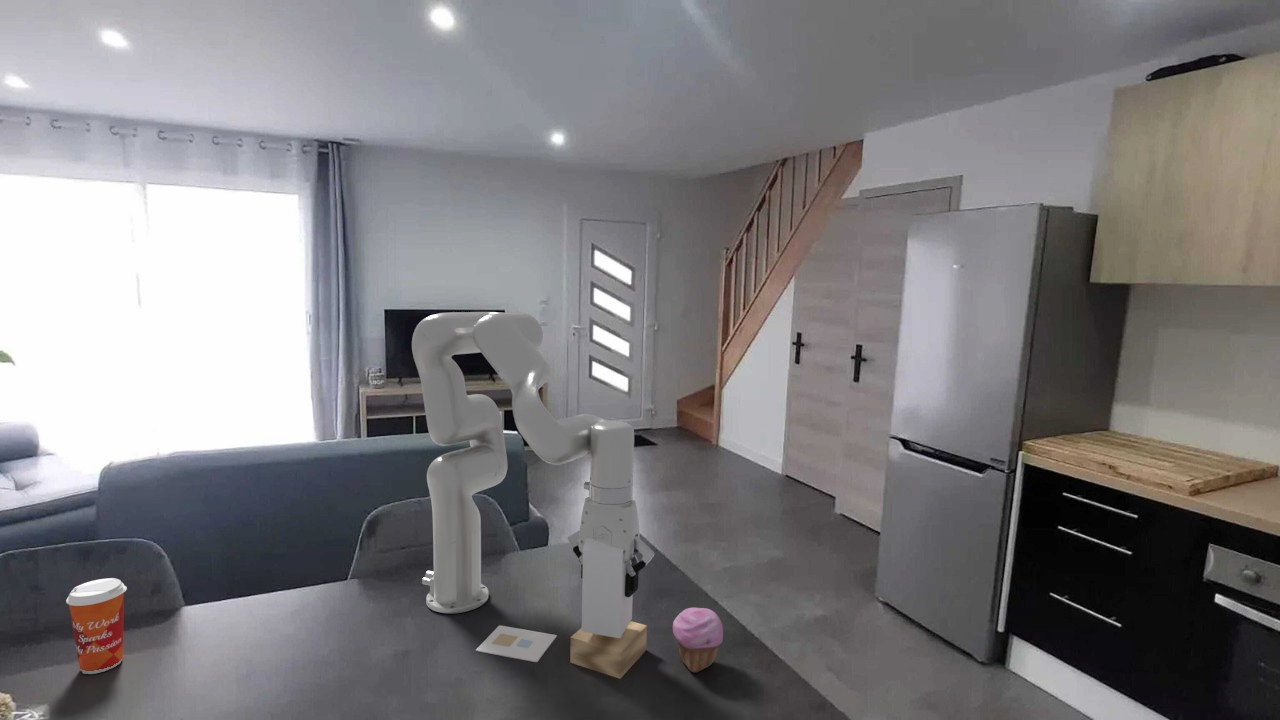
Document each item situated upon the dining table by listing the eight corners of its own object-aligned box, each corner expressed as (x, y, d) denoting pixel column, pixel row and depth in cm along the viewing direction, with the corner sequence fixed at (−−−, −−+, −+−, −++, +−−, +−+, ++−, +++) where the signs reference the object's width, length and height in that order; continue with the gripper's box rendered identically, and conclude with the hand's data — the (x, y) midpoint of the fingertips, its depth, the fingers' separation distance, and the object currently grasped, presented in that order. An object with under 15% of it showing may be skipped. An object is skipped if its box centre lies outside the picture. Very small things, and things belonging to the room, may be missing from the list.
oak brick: (570, 663, 114) (570, 637, 113) (598, 637, 122) (599, 612, 122) (620, 680, 109) (620, 652, 109) (646, 651, 118) (646, 625, 117)
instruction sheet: (475, 650, 116) (475, 649, 116) (499, 626, 125) (499, 625, 125) (537, 662, 113) (536, 661, 113) (556, 636, 122) (556, 635, 122)
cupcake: (663, 656, 116) (665, 603, 115) (705, 646, 119) (707, 595, 118) (687, 684, 108) (689, 628, 107) (731, 673, 111) (733, 618, 110)
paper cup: (65, 684, 104) (58, 601, 103) (79, 659, 111) (73, 581, 110) (125, 671, 108) (120, 591, 106) (136, 648, 115) (131, 573, 113)
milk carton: (620, 639, 110) (622, 532, 108) (581, 632, 112) (582, 526, 110) (632, 619, 117) (634, 518, 115) (595, 613, 119) (596, 513, 117)
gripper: (557, 490, 113) (555, 586, 114) (647, 507, 105) (644, 609, 107) (579, 479, 119) (577, 570, 121) (665, 494, 112) (662, 590, 114)
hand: (609, 588), depth 114 cm, fingers open, 8 cm apart
